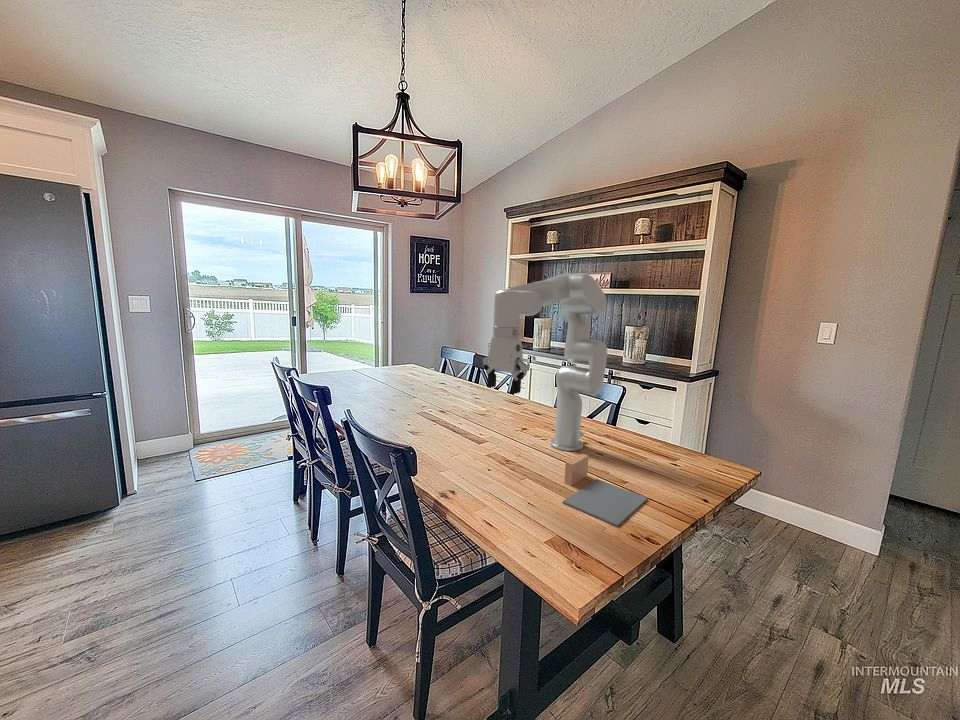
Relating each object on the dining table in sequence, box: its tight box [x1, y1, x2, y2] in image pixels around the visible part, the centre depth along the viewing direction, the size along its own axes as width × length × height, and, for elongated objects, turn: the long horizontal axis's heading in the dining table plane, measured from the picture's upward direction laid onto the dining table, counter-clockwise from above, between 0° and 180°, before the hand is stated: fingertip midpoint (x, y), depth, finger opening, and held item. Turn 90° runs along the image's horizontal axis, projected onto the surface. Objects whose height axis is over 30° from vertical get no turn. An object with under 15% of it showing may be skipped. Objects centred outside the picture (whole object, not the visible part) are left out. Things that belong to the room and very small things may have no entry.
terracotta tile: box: [564, 453, 589, 487], centre depth 124 cm, size 10×2×7 cm, turn 136°
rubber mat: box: [562, 478, 648, 528], centre depth 112 cm, size 20×16×1 cm
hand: (503, 389), depth 117 cm, fingers open, 9 cm apart
